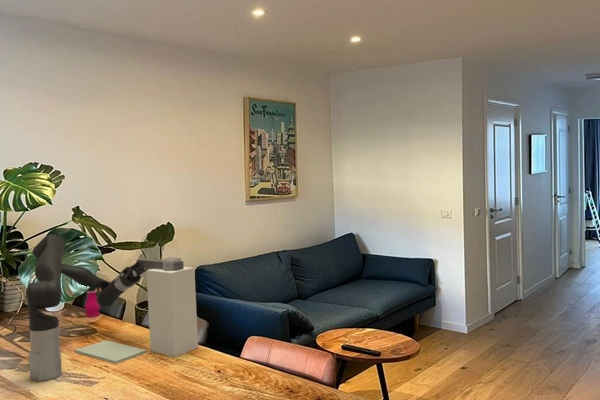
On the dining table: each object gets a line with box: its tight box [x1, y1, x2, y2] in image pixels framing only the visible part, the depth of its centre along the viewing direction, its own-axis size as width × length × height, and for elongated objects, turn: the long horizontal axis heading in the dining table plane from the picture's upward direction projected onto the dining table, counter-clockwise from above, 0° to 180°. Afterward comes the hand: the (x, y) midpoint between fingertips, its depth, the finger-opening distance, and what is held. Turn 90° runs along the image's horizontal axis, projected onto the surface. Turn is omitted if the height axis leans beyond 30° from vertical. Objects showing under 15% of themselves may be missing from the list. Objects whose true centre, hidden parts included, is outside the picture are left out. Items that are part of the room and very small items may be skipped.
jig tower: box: [146, 266, 199, 358], centre depth 211 cm, size 12×14×32 cm
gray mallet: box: [136, 257, 185, 271], centre depth 213 cm, size 7×22×4 cm, turn 58°
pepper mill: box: [84, 288, 101, 318], centre depth 269 cm, size 7×7×20 cm
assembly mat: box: [74, 339, 147, 365], centre depth 211 cm, size 14×26×1 cm, turn 55°
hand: (148, 261), depth 218 cm, fingers open, 8 cm apart
